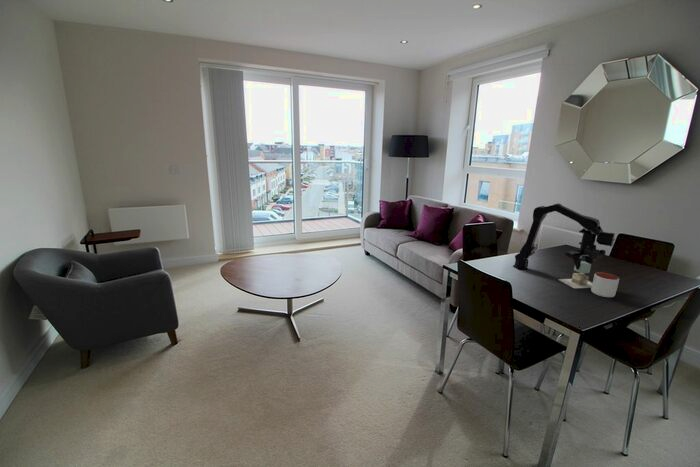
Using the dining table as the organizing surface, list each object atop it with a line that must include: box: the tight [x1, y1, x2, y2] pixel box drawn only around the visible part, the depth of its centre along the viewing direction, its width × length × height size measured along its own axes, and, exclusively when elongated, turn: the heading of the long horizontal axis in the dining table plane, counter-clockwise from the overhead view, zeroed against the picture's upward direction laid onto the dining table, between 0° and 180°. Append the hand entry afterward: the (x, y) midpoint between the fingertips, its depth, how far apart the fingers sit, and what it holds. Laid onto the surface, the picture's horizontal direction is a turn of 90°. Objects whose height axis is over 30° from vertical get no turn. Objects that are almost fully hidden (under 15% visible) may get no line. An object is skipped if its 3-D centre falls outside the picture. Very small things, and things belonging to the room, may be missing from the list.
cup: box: [590, 272, 620, 298], centre depth 164 cm, size 10×10×10 cm
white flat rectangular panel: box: [557, 278, 593, 289], centre depth 178 cm, size 16×12×1 cm
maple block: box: [571, 272, 590, 285], centre depth 177 cm, size 5×5×5 cm
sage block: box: [573, 260, 592, 274], centre depth 175 cm, size 5×5×5 cm
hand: (581, 269), depth 176 cm, fingers closed on sage block, 5 cm apart
